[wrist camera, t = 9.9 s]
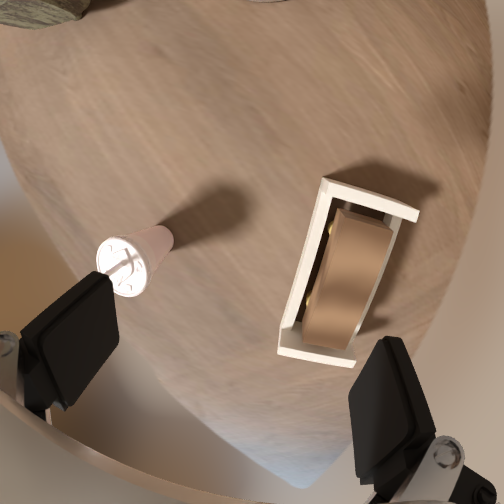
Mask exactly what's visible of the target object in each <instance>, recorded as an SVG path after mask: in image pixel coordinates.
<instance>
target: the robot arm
mask: <svg viewBox="0 0 504 504" xmlns="http://www.w3.org/2000/svg"><path fill="white" fill-rule="evenodd" d="M249 1H257V2H276V1H283V0H249ZM20 333H21V336H22V338H21V339H20V340H19V339H18V337H17V335H15V334H14V333H12V332H10V331H1V332H0V504H271V503H263V502H256V501H249V500H243V499H237V498H231V497H227V496H222V495H217V494H213V493H208V492H204V491H200V490H196V489H193V488H189V487H186V486H182V485H179V484H176V483H172V482H169V481H166V480H163V479H160V478H157V477H155V476H152V475H149V474H147V473H144V472H141V471H139V470H136V469H134V468H131V467H129V466H127V465H124V464H122V463H120V462H118V461H115V460H113V459H111V458H109V457H107V456H105V455H103V454H101V453H99V452H96V451H95V450H93V449H91V448H89V447H87V446H85V445H83V444H82V443H80V442H78V441H76V440H74V439H73V438H71V437H69V436H68V435H66V434H64V433H63V432H61V431H59V430H58V429H56V428H55V427H53V426H52V423H51V415H50V406H51V405H52V403H53V404H54V405H55V406H56V407H58V408H60V409H61V410H63V411H66V409H67V408H68V406H72V405H74V403H75V402H76V401H77V399H78V398H79V396H80V395H81V394H82V392H83V391H84V390H85V388H86V387H87V385H88V384H89V383H90V381H91V380H92V379H93V377H94V376H95V375H96V373H97V372H98V370H99V369H100V368H101V366H102V365H103V364H104V363H105V361H106V360H107V359H108V357H109V356H110V355H111V353H112V352H113V351H114V349H115V348H116V347H117V345H118V343H119V331H118V324H117V317H116V309H115V300H114V290H113V282H112V281H111V280H110V278H109V276H108V275H107V274H103V273H100V272H97V271H93V272H91V273H90V274H89V275H87V276H86V277H85V278H83V279H82V280H81V281H80V282H78V283H77V284H76V285H75V286H73V287H72V288H71V289H69V290H68V291H67V292H66V293H65V294H63V295H62V296H61V297H60V298H58V299H57V300H56V301H55V302H54V303H52V304H51V305H50V306H49V307H48V308H46V309H45V310H44V311H43V312H42V313H41V314H39V315H38V316H37V317H36V318H35V319H34V320H32V321H31V322H30V323H29V324H28V325H27V326H26V327H25V328H24V329H22V330H21V331H20ZM348 401H349V409H350V417H351V426H352V436H353V446H354V458H355V471H356V476H357V477H358V478H360V485H367V484H374V492H373V493H372V495H371V496H370V497H369V498H368V500H367V501H366V502H365V503H364V504H495V503H496V499H497V493H496V489H495V487H494V486H493V484H492V483H491V482H489V481H488V480H486V479H485V478H483V477H482V476H480V475H479V474H477V473H475V472H474V471H473V470H471V469H469V468H468V467H466V466H465V465H464V460H465V455H464V450H463V447H462V446H461V444H460V443H459V442H458V441H457V440H455V439H454V438H452V437H450V436H439V437H437V438H436V437H435V432H436V428H435V425H434V422H433V419H432V416H431V413H430V410H429V407H428V404H427V401H426V398H425V396H424V393H423V390H422V388H421V385H420V382H419V380H418V377H417V374H416V372H415V369H414V367H413V365H412V362H411V359H410V357H409V355H408V352H407V350H406V348H405V345H404V343H403V341H402V339H401V338H399V337H392V336H385V337H384V338H383V339H380V340H378V342H377V343H376V345H375V347H374V349H373V351H372V353H371V355H370V357H369V358H368V360H367V362H366V364H365V366H364V367H363V369H362V371H361V373H360V374H359V376H358V378H357V380H356V381H355V383H354V385H353V386H352V388H351V390H350V392H349V396H348ZM496 504H500V503H499V502H498V503H496Z"/></svg>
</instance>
